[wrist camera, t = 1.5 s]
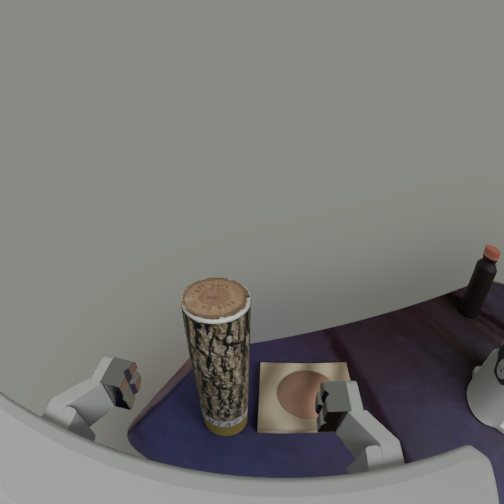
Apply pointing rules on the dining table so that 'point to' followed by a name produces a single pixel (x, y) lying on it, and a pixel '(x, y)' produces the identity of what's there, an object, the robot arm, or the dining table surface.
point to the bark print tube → (219, 350)
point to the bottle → (480, 283)
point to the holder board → (293, 394)
